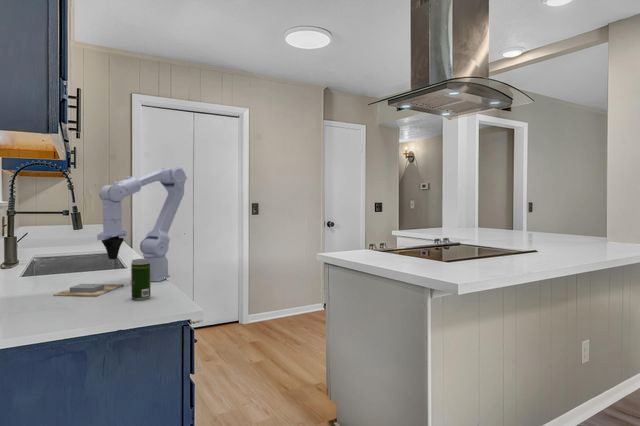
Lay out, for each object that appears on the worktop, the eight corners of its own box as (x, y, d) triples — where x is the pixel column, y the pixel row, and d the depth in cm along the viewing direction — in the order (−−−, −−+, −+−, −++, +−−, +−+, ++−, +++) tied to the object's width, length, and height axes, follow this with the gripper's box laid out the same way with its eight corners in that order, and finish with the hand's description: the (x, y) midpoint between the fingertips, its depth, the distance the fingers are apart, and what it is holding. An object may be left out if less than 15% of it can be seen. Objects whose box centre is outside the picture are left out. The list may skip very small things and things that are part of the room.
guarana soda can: (154, 297, 126) (154, 259, 126) (139, 301, 121) (139, 261, 121) (142, 295, 129) (142, 258, 128) (127, 299, 124) (127, 260, 123)
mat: (85, 284, 143) (85, 283, 143) (123, 285, 143) (123, 284, 143) (53, 295, 128) (53, 294, 127) (96, 296, 127) (96, 295, 127)
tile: (81, 283, 136) (69, 287, 130) (104, 284, 136) (93, 288, 130) (81, 288, 136) (69, 292, 131) (104, 288, 136) (93, 292, 130)
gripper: (113, 218, 146) (113, 255, 147) (88, 220, 132) (88, 262, 132) (131, 218, 146) (132, 256, 147) (108, 221, 132) (109, 262, 132)
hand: (112, 259), depth 139 cm, fingers closed
